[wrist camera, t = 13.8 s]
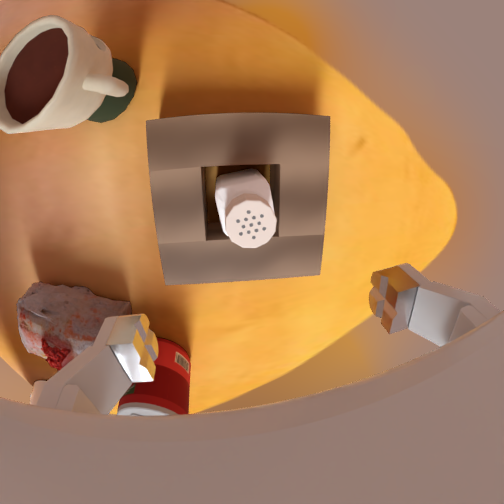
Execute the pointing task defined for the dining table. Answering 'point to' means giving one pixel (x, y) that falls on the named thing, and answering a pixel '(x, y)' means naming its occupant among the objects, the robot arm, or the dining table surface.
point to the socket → (238, 153)
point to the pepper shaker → (245, 207)
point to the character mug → (60, 78)
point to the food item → (63, 320)
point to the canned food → (161, 385)
